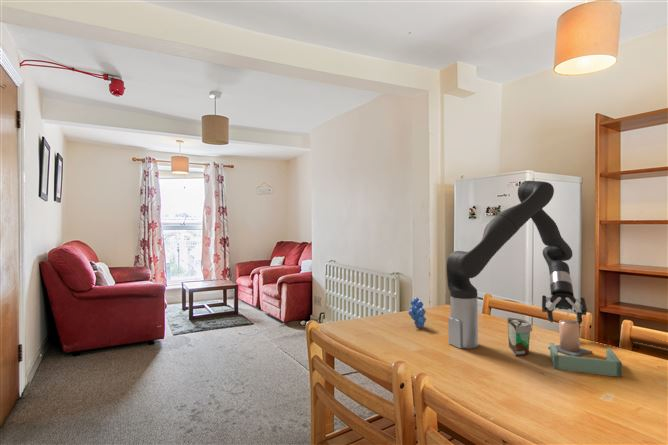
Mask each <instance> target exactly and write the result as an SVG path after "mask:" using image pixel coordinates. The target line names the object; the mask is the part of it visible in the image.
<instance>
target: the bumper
mask: <svg viewBox="0 0 668 445" xmlns="http://www.w3.org/2000/svg"><path fill="white" fill-rule="evenodd" d="M549 347H550V349H549V356H550V359H551V361H552V364H553V369H555V370H561V371H569V372H576V373H577V372H579V373H587V374H594V375H601V376H611V377H616V378H617V377H618V378H623V362H622V360H620V359H619V358H618V356H617V355H616V354H615V352H614V350H612V348H608V347H607V348H606V349H605V350H606V351H605V353H606V354H605V356H606V359H605V358H604V359H602V358H596V357H595V358H593V357H585V356H584V357H583V356H569V355H566V354H559V352H557V349H556V344H555V342H549Z"/></svg>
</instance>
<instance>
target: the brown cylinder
mask: <svg viewBox="0 0 668 445" xmlns="http://www.w3.org/2000/svg"><path fill="white" fill-rule="evenodd" d="M558 325H559V329H558V330H559V331H558V332H559V345H560V348H561V349H563V350H566V351H580V348H581V345H580V344H581V343H580V327H579V323H578V322H577V320H572V319H560V320H558Z"/></svg>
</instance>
